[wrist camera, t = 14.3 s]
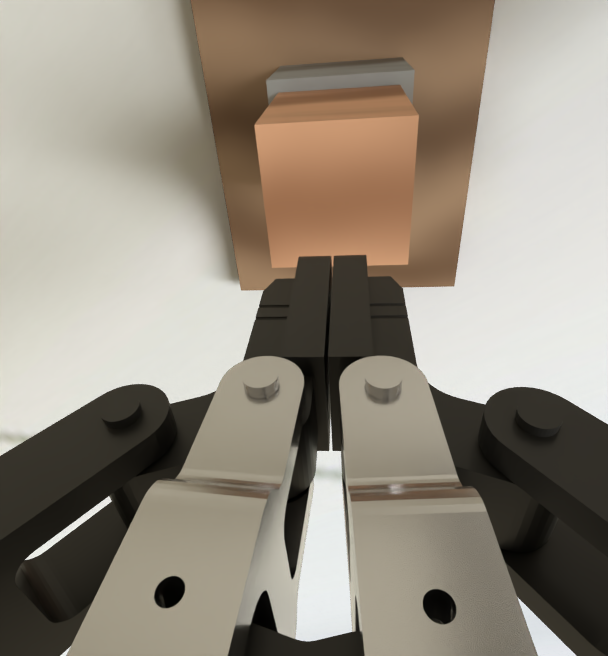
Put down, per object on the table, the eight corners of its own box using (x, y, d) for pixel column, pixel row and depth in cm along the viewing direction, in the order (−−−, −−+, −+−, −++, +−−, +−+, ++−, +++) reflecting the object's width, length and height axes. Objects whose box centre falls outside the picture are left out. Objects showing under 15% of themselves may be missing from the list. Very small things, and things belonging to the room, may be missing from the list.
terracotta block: (278, 92, 19) (254, 124, 14) (400, 84, 18) (418, 115, 14) (288, 208, 22) (271, 267, 17) (394, 204, 21) (407, 264, 16)
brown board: (180, -112, 20) (121, -150, 15) (506, -149, 19) (567, -206, 14) (245, 279, 32) (225, 334, 27) (449, 274, 30) (471, 332, 25)
